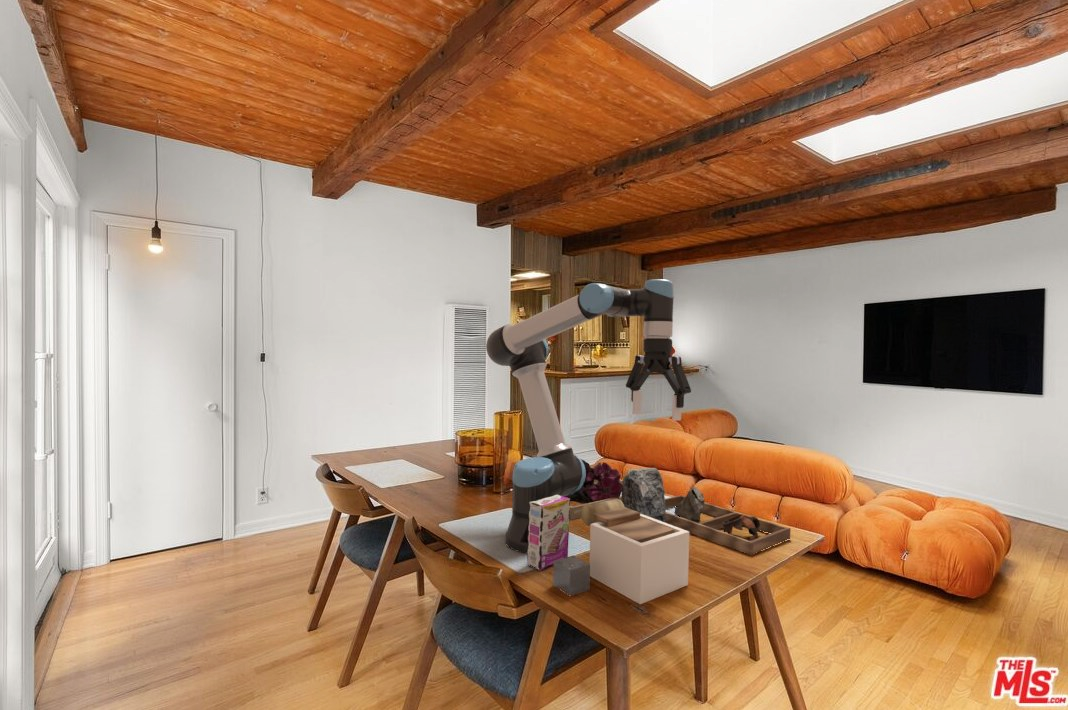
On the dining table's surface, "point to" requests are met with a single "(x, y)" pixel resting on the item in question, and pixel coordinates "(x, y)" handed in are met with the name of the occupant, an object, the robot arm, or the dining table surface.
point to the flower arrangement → (599, 484)
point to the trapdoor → (623, 521)
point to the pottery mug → (737, 524)
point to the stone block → (644, 492)
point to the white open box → (639, 562)
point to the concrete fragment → (691, 505)
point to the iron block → (571, 575)
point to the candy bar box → (548, 531)
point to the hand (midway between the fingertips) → (655, 417)
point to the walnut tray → (712, 527)
